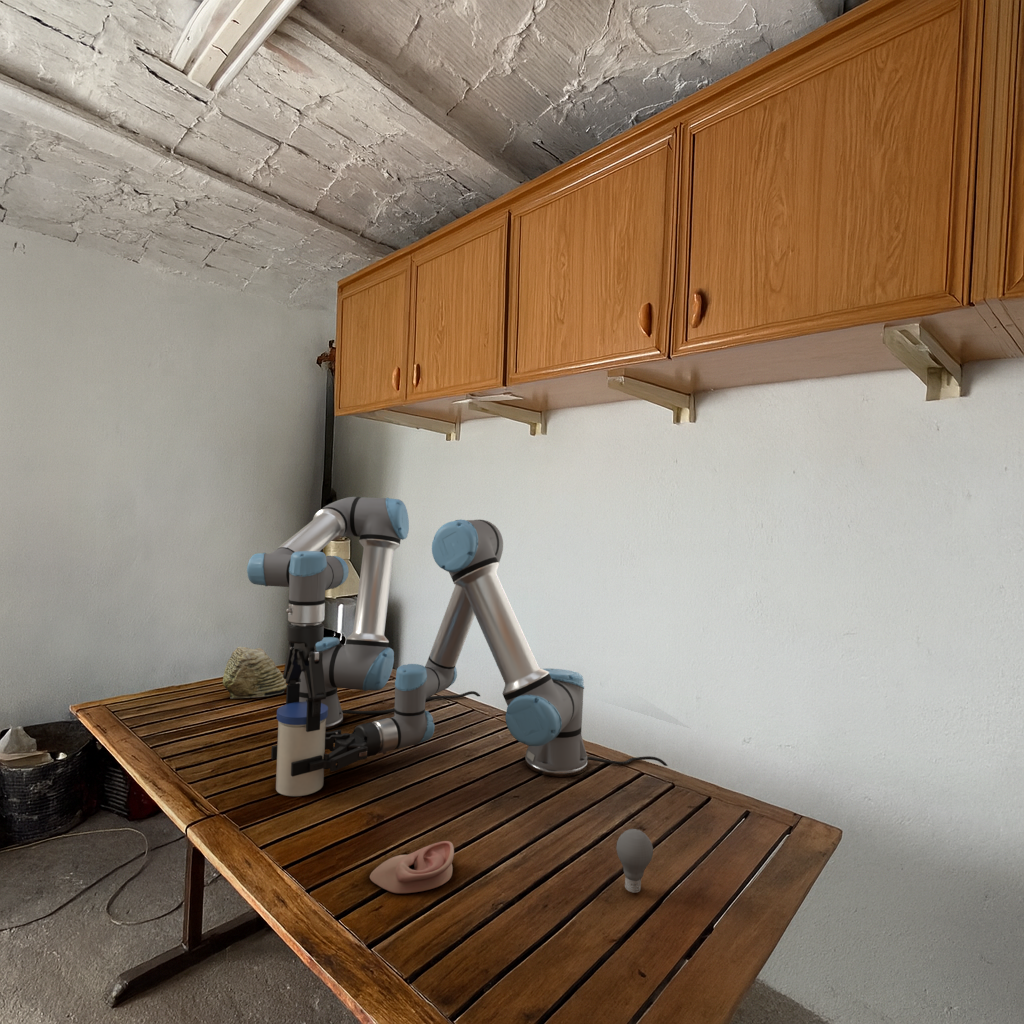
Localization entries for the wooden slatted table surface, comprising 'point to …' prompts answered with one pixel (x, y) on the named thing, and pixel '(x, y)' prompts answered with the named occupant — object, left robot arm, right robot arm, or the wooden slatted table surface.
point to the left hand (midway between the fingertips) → (302, 721)
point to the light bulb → (634, 857)
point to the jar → (299, 758)
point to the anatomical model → (416, 869)
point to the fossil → (252, 674)
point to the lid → (297, 713)
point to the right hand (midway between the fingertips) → (281, 761)
